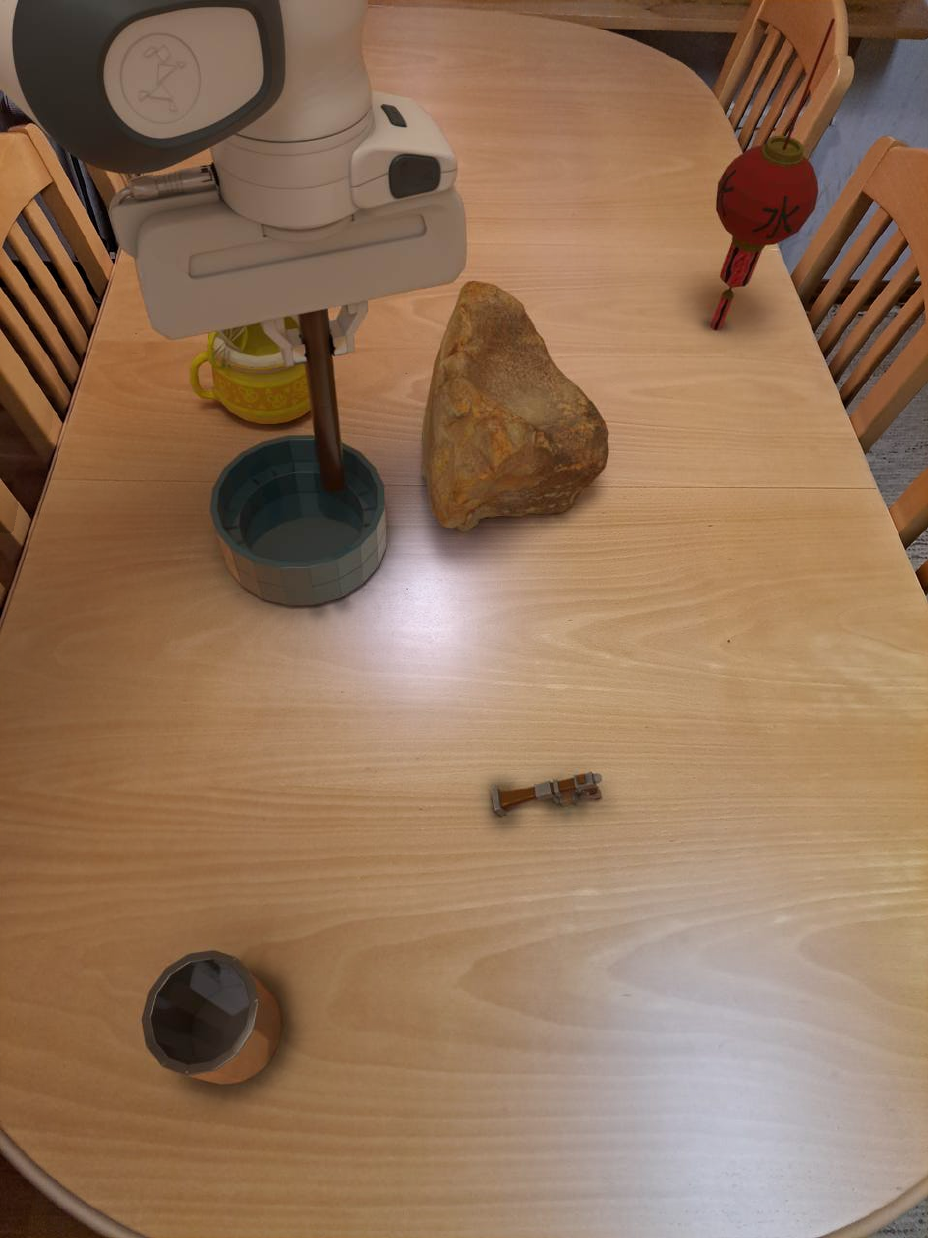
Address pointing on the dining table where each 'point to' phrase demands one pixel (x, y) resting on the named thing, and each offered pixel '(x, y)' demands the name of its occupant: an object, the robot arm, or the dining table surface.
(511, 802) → the wooden lamp post
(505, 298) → the orange rock
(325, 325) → the stick
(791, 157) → the lantern
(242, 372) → the mug
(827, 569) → the dining table surface
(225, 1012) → the holder
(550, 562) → the dining table surface
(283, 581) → the bowl
